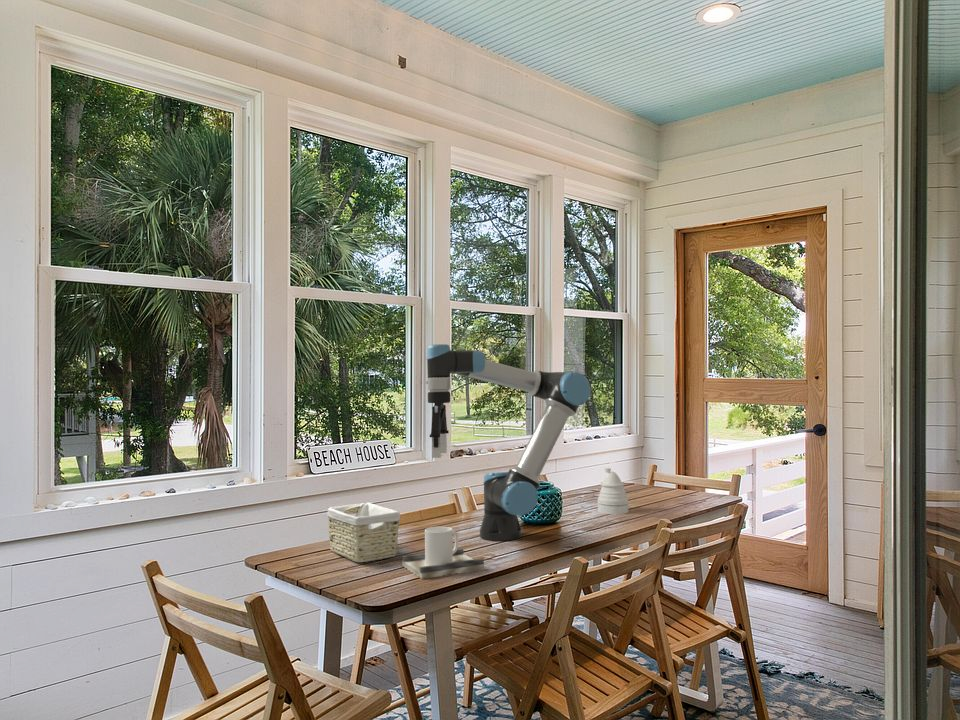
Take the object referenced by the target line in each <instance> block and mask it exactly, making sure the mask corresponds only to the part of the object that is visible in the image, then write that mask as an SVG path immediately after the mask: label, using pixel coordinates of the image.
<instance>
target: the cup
mask: <svg viewBox="0 0 960 720" xmlns="http://www.w3.org/2000/svg"><path fill="white" fill-rule="evenodd" d="M453 536H454V543H453ZM459 542H460V541H459V535H458V532H457V531H455V530H453V528H452V527H448V526H431V527H426V528H425V529H424V553H425V562H426V564H427V565H428V566H431V565H438V564H445V563H452V561H453V554H454V553H455V552H456V551H457V549H459ZM453 544H454V547H453Z"/></svg>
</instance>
